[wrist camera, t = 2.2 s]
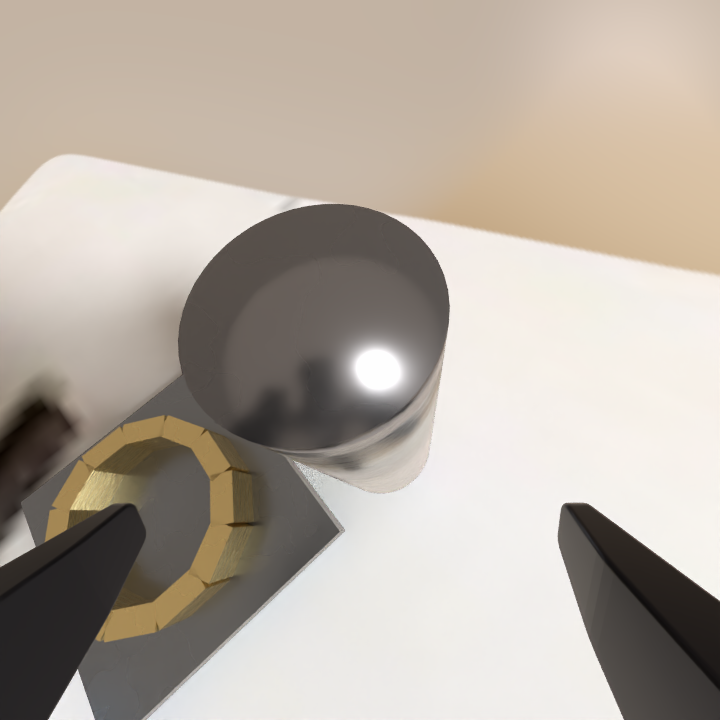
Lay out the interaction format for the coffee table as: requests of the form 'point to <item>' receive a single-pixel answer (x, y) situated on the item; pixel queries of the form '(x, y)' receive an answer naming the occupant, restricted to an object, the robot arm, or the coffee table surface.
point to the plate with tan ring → (183, 543)
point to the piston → (323, 342)
